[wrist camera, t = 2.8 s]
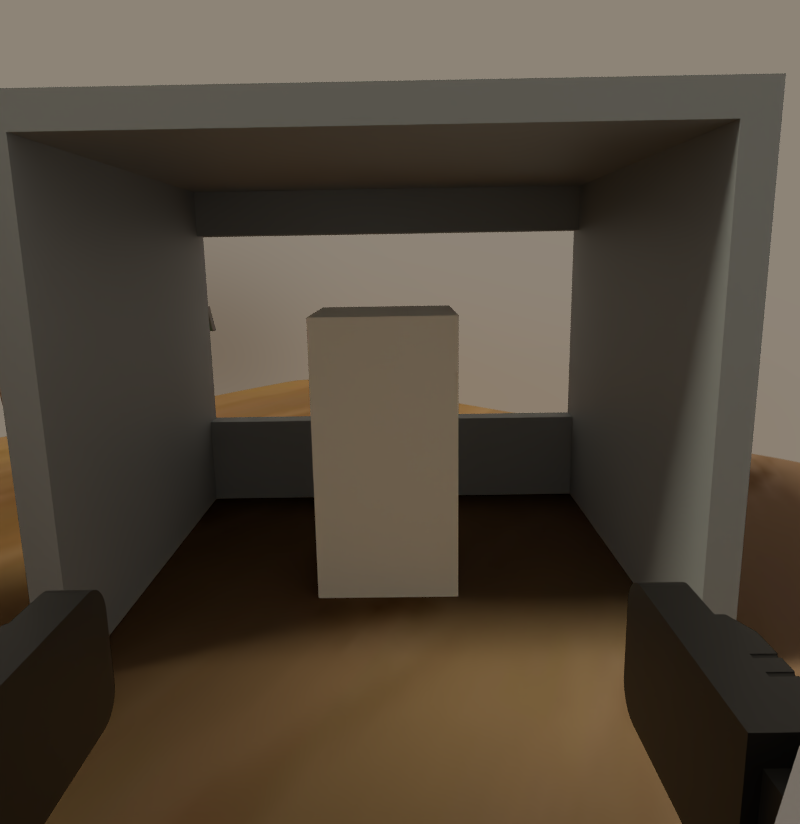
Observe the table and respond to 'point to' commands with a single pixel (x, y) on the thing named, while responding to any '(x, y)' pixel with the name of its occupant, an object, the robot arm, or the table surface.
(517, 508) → the table surface
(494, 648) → the table surface
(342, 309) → the cream block
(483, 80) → the open box frame
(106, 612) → the robot arm
